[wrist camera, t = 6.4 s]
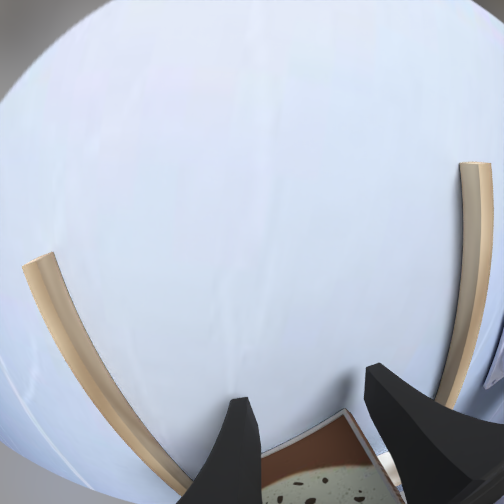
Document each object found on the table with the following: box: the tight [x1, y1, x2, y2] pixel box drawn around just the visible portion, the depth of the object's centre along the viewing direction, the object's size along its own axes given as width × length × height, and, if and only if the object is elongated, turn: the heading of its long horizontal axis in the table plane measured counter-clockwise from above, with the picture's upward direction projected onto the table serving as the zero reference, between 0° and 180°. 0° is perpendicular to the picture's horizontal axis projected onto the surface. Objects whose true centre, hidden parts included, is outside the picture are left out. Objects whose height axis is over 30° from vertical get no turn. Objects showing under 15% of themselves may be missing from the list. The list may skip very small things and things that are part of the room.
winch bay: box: [22, 162, 494, 496], centre depth 9 cm, size 19×21×5 cm
